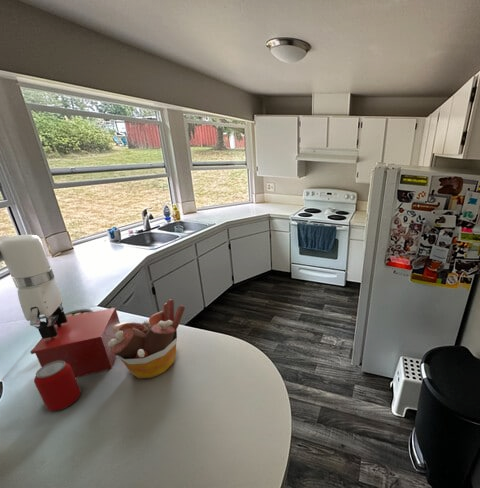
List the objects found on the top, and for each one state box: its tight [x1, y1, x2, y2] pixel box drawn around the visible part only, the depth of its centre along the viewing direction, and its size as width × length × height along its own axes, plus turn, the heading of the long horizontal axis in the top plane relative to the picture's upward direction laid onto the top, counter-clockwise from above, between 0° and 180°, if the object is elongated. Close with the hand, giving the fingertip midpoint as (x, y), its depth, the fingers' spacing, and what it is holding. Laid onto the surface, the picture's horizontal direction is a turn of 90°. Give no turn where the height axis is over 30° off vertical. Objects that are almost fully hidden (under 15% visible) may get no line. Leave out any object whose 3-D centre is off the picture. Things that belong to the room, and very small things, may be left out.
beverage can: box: [33, 361, 82, 412], centre depth 67 cm, size 7×7×12 cm
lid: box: [30, 307, 117, 355], centre depth 79 cm, size 15×17×6 cm
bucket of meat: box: [108, 298, 186, 379], centre depth 79 cm, size 20×16×20 cm
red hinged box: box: [34, 309, 121, 379], centre depth 82 cm, size 15×17×12 cm
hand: (55, 329), depth 77 cm, fingers closed on lid, 6 cm apart
